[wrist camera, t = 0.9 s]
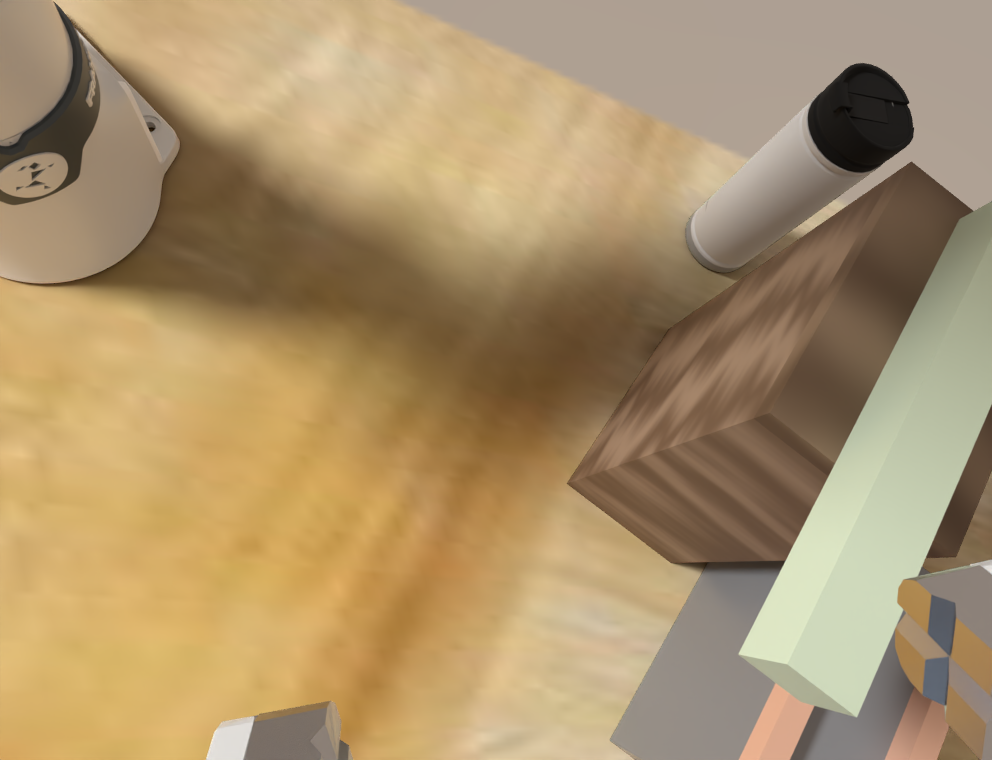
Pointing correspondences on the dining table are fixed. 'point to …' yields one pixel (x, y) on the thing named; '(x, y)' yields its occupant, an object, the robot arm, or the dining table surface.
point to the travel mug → (803, 167)
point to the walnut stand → (777, 388)
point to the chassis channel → (761, 692)
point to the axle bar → (885, 489)
